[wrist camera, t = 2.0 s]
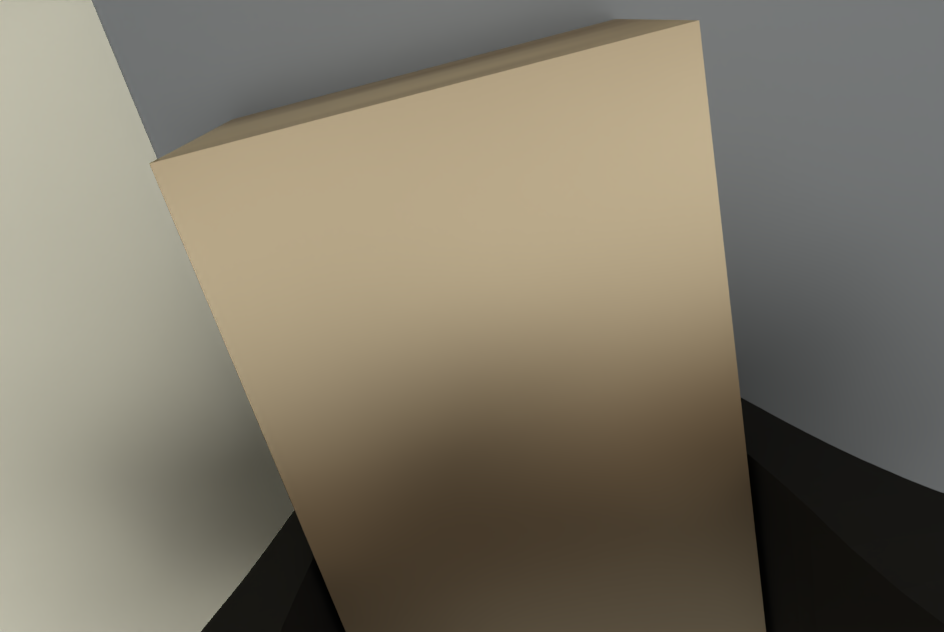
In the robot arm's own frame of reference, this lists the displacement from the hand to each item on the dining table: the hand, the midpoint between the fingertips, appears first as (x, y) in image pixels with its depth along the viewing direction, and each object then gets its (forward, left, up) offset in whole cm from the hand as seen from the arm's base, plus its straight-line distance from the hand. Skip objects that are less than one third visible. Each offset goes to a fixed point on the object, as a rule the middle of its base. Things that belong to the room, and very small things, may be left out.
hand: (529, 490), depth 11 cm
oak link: (-1, 0, -1) cm, 1 cm away
